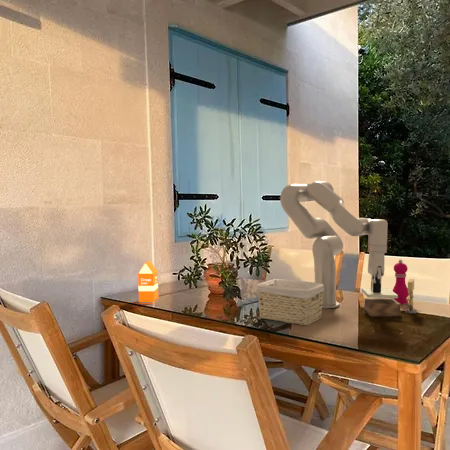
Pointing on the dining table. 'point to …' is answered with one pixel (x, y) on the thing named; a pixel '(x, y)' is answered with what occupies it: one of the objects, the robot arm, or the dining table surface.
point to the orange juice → (148, 283)
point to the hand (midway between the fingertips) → (375, 291)
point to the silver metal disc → (411, 311)
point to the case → (382, 307)
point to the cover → (384, 293)
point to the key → (410, 293)
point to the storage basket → (290, 301)
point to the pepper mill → (400, 283)
